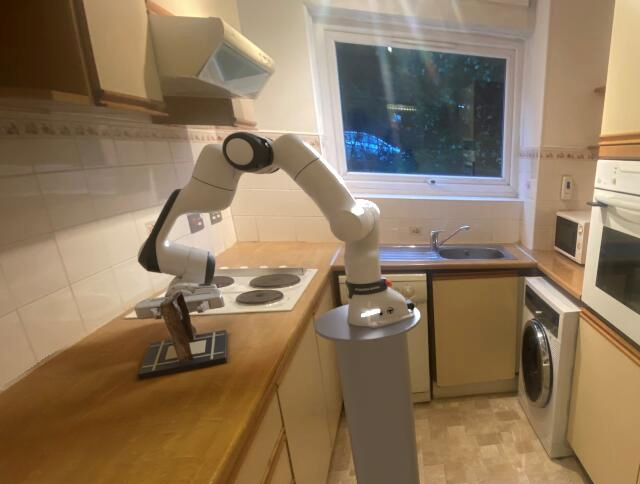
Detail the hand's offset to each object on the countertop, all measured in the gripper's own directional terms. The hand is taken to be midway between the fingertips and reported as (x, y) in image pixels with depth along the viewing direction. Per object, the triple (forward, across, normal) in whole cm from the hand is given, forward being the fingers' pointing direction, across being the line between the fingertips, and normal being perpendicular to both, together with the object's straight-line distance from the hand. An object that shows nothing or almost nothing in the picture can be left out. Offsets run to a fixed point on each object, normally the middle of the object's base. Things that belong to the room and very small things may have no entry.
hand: (179, 313), depth 117 cm
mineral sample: (+6, 0, +9) cm, 10 cm away
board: (+5, 0, +10) cm, 11 cm away
